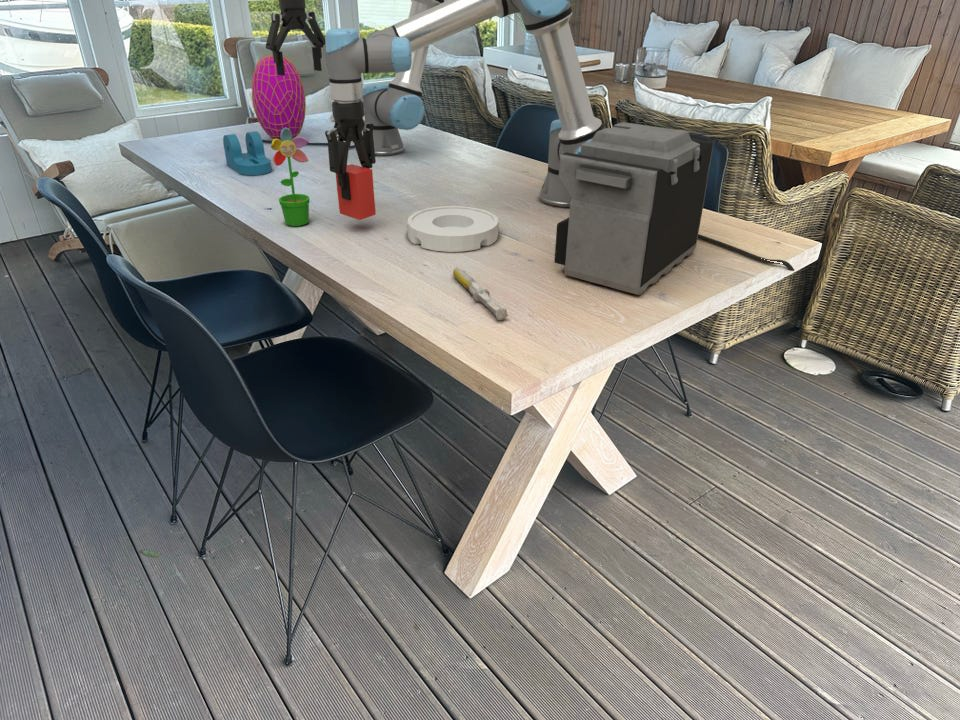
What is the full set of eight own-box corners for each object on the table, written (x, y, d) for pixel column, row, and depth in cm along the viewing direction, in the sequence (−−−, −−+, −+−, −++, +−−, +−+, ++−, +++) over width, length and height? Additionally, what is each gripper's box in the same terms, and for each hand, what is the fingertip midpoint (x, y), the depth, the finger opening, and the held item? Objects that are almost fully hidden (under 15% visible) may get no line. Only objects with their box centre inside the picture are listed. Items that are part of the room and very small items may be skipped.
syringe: (449, 274, 155) (449, 263, 153) (465, 272, 156) (464, 260, 154) (490, 323, 135) (491, 310, 133) (508, 319, 136) (508, 307, 134)
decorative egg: (293, 132, 276) (283, 50, 261) (319, 140, 264) (310, 56, 249) (249, 139, 265) (236, 54, 250) (273, 148, 253) (261, 60, 238)
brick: (355, 208, 182) (351, 163, 176) (375, 214, 177) (372, 169, 171) (339, 213, 178) (334, 168, 172) (359, 220, 174) (355, 174, 168)
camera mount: (227, 164, 233) (221, 132, 227) (257, 160, 238) (252, 129, 233) (244, 176, 220) (239, 143, 215) (276, 172, 225) (271, 139, 220)
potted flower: (284, 229, 179) (270, 130, 166) (277, 220, 185) (263, 124, 172) (319, 224, 183) (308, 127, 170) (311, 215, 188) (300, 121, 176)
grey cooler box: (618, 231, 180) (632, 112, 165) (700, 250, 169) (723, 124, 154) (546, 276, 154) (555, 139, 139) (637, 301, 143) (657, 156, 128)
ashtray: (413, 219, 187) (412, 204, 185) (498, 221, 186) (498, 206, 184) (402, 250, 167) (401, 235, 165) (497, 252, 166) (498, 237, 164)
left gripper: (317, -8, 208) (324, 67, 219) (245, -6, 192) (257, 75, 203) (333, -7, 204) (340, 69, 215) (261, -5, 188) (272, 78, 198)
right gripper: (366, 93, 172) (373, 185, 184) (305, 104, 160) (317, 201, 171) (386, 97, 168) (392, 190, 179) (326, 108, 155) (337, 207, 167)
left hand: (300, 72), depth 209 cm, fingers open, 13 cm apart
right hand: (356, 195), depth 175 cm, fingers closed on brick, 6 cm apart
